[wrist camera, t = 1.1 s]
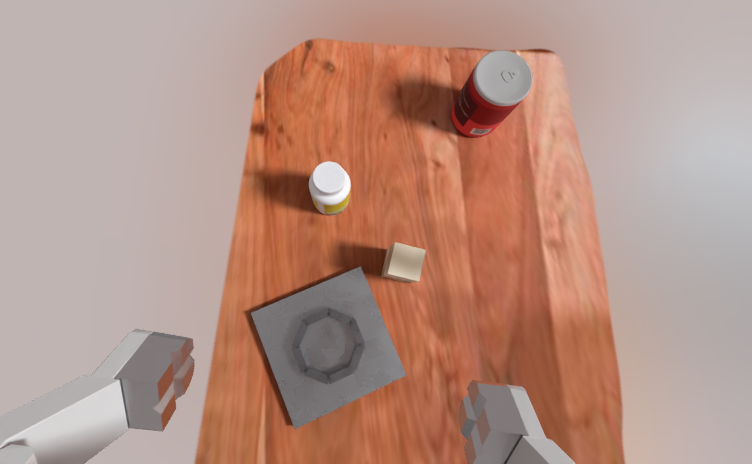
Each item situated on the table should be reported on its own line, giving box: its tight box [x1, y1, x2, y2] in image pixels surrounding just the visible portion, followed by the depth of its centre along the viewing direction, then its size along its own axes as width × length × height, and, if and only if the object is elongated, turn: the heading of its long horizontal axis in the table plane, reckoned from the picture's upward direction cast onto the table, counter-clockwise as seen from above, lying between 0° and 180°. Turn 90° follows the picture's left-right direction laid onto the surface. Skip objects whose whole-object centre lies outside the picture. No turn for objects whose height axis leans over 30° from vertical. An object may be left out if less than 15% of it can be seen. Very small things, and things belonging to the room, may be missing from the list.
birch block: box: [381, 242, 426, 283], centre depth 49 cm, size 4×4×8 cm
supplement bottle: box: [309, 162, 351, 215], centre depth 48 cm, size 5×5×10 cm
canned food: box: [451, 50, 532, 138], centre depth 52 cm, size 8×8×11 cm
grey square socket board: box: [251, 266, 406, 429], centre depth 49 cm, size 16×16×3 cm
